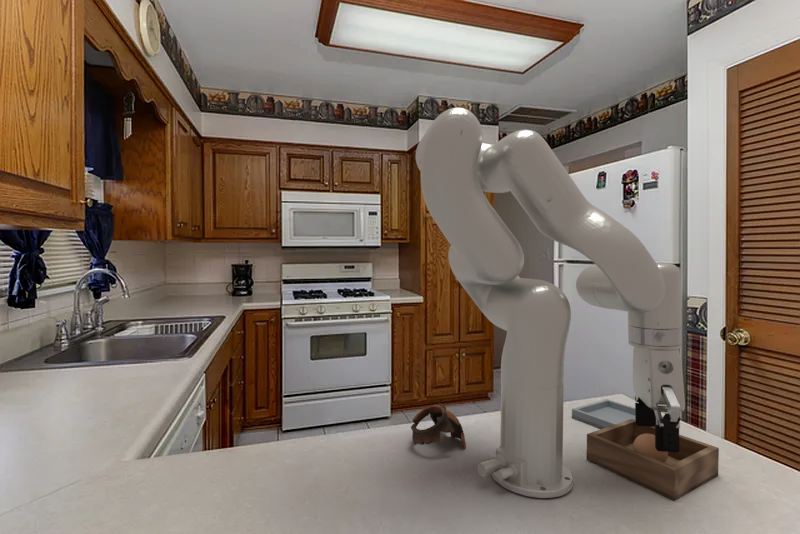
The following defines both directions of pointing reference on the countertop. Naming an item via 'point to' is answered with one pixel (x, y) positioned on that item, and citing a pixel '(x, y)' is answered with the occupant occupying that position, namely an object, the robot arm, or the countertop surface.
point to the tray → (604, 413)
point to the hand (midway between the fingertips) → (655, 437)
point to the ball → (649, 447)
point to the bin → (653, 460)
